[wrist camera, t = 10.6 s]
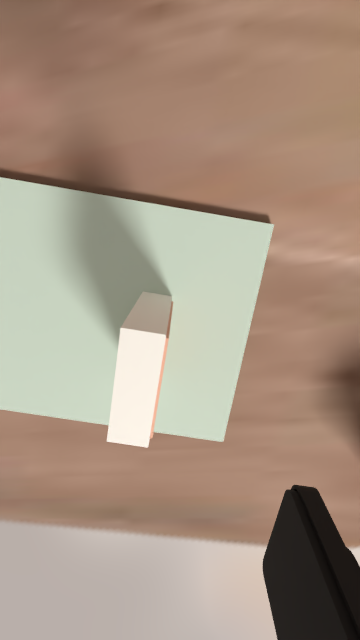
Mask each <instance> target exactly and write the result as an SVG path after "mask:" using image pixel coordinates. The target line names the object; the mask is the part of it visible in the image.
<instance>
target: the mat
mask: <svg viewBox="0 0 360 640" xmlns="http://www.w3.org/2000/svg"><path fill="white" fill-rule="evenodd" d="M273 227H274V224H268V223H262V222H257V221H251V220H245V219H239V218H233V217H228V216H222V215H216V214H210V213H204V212H199V211H193V210H187V209H181V208H176V207H170V206H164V205H158V204H152V203H147V202H141V201H135V200H129V199H123V198H118V197H112V196H106V195H100V194H95V193H89V192H83V191H77V190H71V189H66V188H60V187H54V186H48V185H42V184H37V183H31V182H25V181H19V180H14V179H8V178H2V177H0V409H2V410H9V411H15V412H22V413H29V414H36V415H43V416H49V417H56V418H63V419H70V420H77V421H84V422H90V423H97V424H104V425H109V420H110V411H111V403H112V395H113V386H114V378H115V370H116V361H117V353H118V345H119V337H120V328H121V326H122V325H123V323H124V321H125V320H126V318H127V316H128V315H129V313H130V312H131V310H132V308H133V307H134V305H135V304H136V302H137V300H138V299H139V297H140V295H141V294H142V292H143V291H144V292H150V293H156V294H162V295H168V296H172V301H173V309H172V317H171V325H170V333H169V340H168V346H167V353H166V359H165V365H164V371H163V377H162V383H161V389H160V395H159V401H158V407H157V413H156V419H155V425H154V431H153V432H158V433H165V434H172V435H179V436H186V437H192V438H199V439H206V440H213V441H220V442H223V440H224V435H225V431H226V427H227V423H228V418H229V414H230V410H231V406H232V401H233V397H234V393H235V389H236V384H237V380H238V376H239V371H240V367H241V363H242V359H243V354H244V350H245V346H246V342H247V337H248V333H249V329H250V325H251V320H252V316H253V312H254V308H255V303H256V299H257V295H258V291H259V286H260V282H261V278H262V274H263V269H264V265H265V261H266V256H267V252H268V248H269V244H270V239H271V235H272V231H273Z"/></svg>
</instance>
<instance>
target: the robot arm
mask: <svg viewBox="0 0 360 640" xmlns="http://www.w3.org/2000/svg"><path fill="white" fill-rule="evenodd" d="M263 574H264V579H265V584H266V588H267V593H268V598H269V602H270V607H271V611H272V616H273V620H274V625H275V629H276V634H277V639H278V640H360V567H359V565H358V563H357V561H356V559H355V557H354V555H353V554H352V552H351V551H350V550H349V549H348V548H347V547H345V544H344V542H343V540H342V538H341V536H340V534H339V532H338V530H337V528H336V526H335V524H334V522H333V520H332V518H331V516H330V514H329V512H328V510H327V508H326V506H325V504H324V502H323V500H322V498H321V496H320V494H319V492H318V490H317V489H316V488H314V487H307V486H300V485H293V486H292V488H291V490H286V491H285V494H284V497H283V500H282V503H281V506H280V509H279V512H278V515H277V518H276V521H275V524H274V528H273V531H272V534H271V537H270V540H269V543H268V546H267V549H266V552H265V555H264V559H263Z"/></svg>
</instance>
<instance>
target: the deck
mask: <svg viewBox="0 0 360 640" xmlns="http://www.w3.org/2000/svg"><path fill="white" fill-rule="evenodd" d="M172 309H173V301H172V296H168V295H162V294H156V293H150V292H144V291H143V292H142V294H141V295H140V297H139V299H138V300H137V302H136V304H135V305H134V307H133V308H132V310H131V312H130V313H129V315H128V316H127V318H126V320H125V321H124V323H123V325H122V326H121V328H120V337H119V345H118V353H117V361H116V370H115V378H114V386H113V395H112V403H111V411H110V420H109V428H108V436H107V442H114V443H121V444H128V445H134V446H141V447H148V445H149V438H152V437H153V431H154V425H155V419H156V413H157V407H158V401H159V395H160V389H161V383H162V377H163V371H164V365H165V359H166V353H167V346H168V340H169V333H170V325H171V317H172Z"/></svg>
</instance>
